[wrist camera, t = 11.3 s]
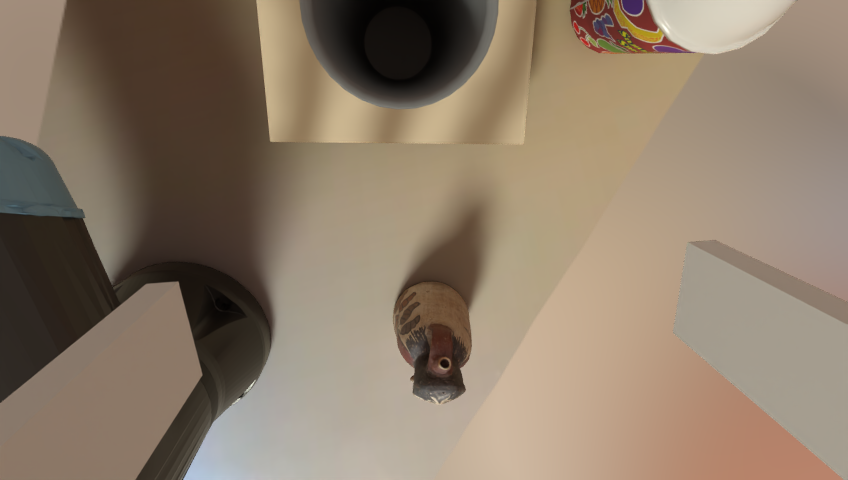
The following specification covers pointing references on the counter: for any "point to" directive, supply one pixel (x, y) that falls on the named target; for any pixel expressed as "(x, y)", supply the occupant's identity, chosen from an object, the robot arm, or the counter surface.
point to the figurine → (433, 339)
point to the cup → (400, 46)
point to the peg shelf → (367, 123)
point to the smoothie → (673, 24)
